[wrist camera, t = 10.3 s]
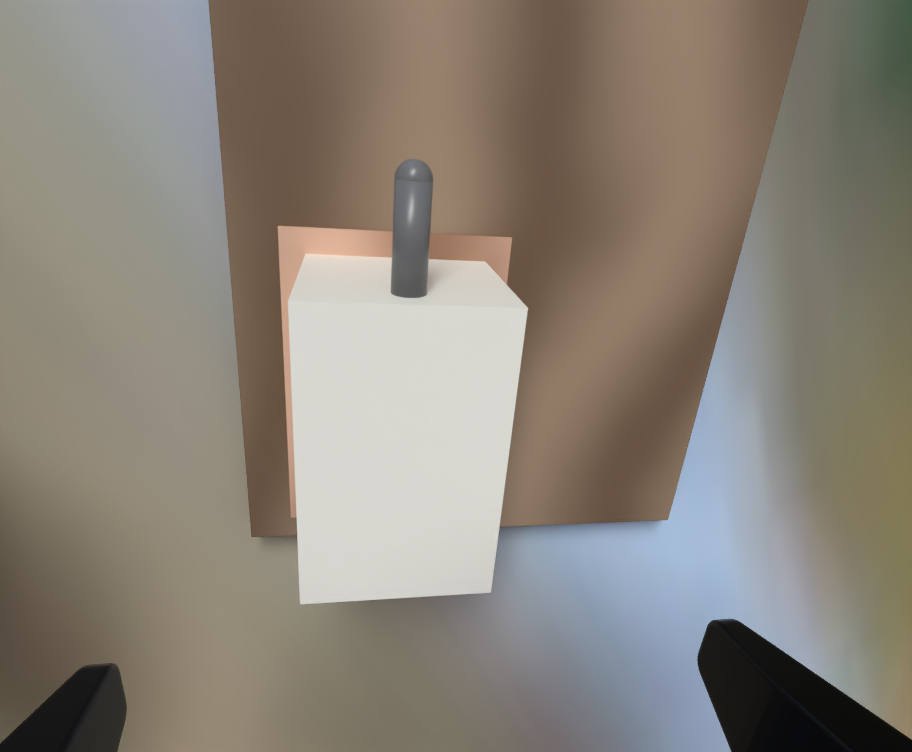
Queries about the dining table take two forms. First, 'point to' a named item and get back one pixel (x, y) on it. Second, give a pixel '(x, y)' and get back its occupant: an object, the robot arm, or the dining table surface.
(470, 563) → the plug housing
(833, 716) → the robot arm
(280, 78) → the mounting board
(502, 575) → the dining table surface
